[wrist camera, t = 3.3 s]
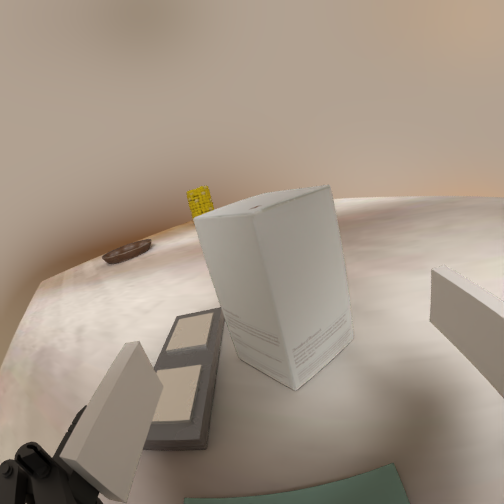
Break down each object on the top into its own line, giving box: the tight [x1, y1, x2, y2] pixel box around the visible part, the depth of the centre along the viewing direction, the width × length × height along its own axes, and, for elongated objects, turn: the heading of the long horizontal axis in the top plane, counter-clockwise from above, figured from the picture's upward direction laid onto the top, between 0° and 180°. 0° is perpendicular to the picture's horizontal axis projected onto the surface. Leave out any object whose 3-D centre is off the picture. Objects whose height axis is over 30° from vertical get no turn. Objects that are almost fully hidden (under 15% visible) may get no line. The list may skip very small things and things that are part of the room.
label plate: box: [143, 307, 225, 450], centre depth 23 cm, size 6×18×2 cm, turn 1°
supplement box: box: [193, 185, 354, 390], centre depth 21 cm, size 7×7×13 cm
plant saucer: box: [102, 239, 151, 264], centre depth 85 cm, size 18×18×3 cm
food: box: [186, 186, 214, 219], centre depth 112 cm, size 15×12×10 cm
